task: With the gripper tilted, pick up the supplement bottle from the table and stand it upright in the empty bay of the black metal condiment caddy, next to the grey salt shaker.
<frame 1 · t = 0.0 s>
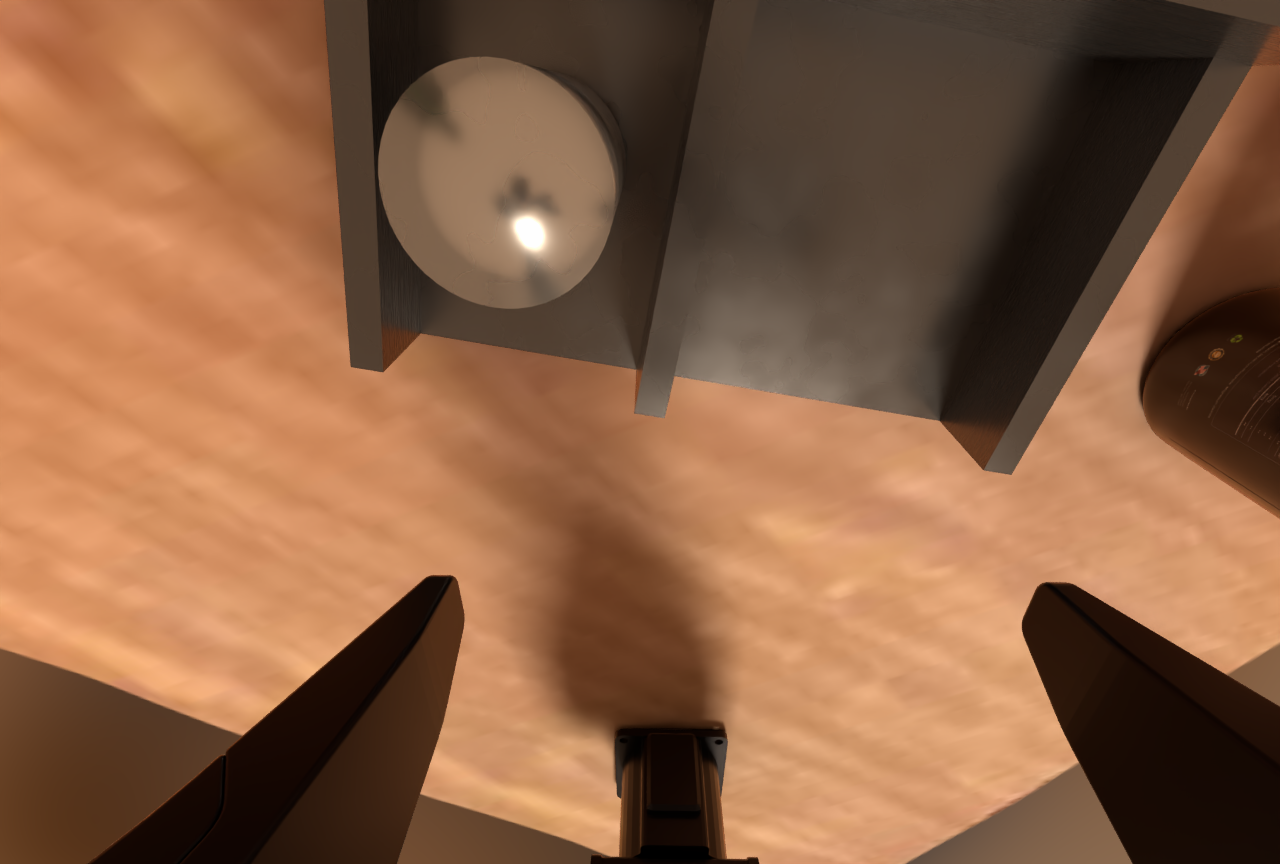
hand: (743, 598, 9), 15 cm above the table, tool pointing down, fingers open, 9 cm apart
supplement bottle: (1224, 365, 23), on the table
condiment caddy: (855, 218, 20), on the table
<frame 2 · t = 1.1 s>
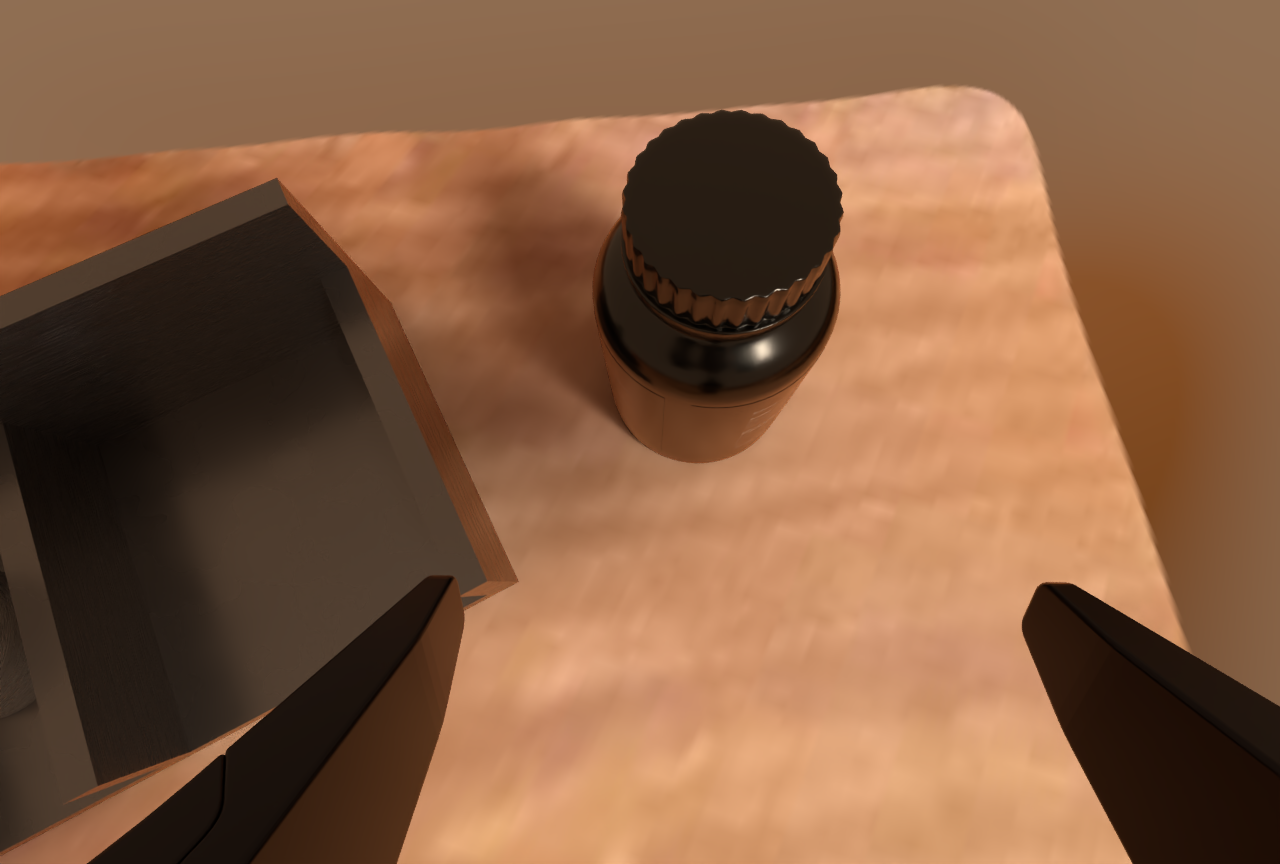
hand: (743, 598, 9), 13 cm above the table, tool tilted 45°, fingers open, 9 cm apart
supplement bottle: (693, 386, 24), on the table
condiment caddy: (297, 509, 23), on the table
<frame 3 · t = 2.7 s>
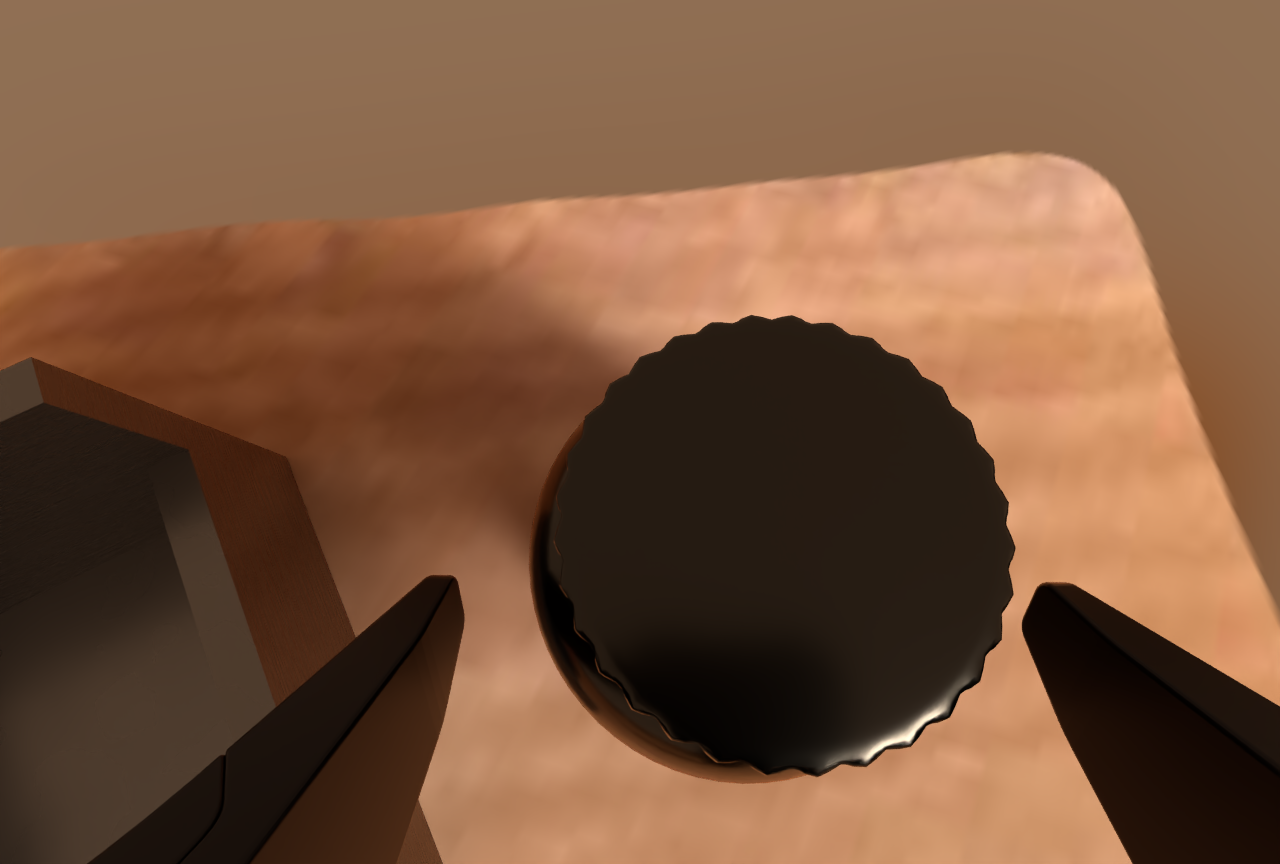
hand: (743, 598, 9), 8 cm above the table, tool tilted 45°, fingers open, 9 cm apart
supplement bottle: (696, 572, 18), on the table
condiment caddy: (138, 768, 16), on the table
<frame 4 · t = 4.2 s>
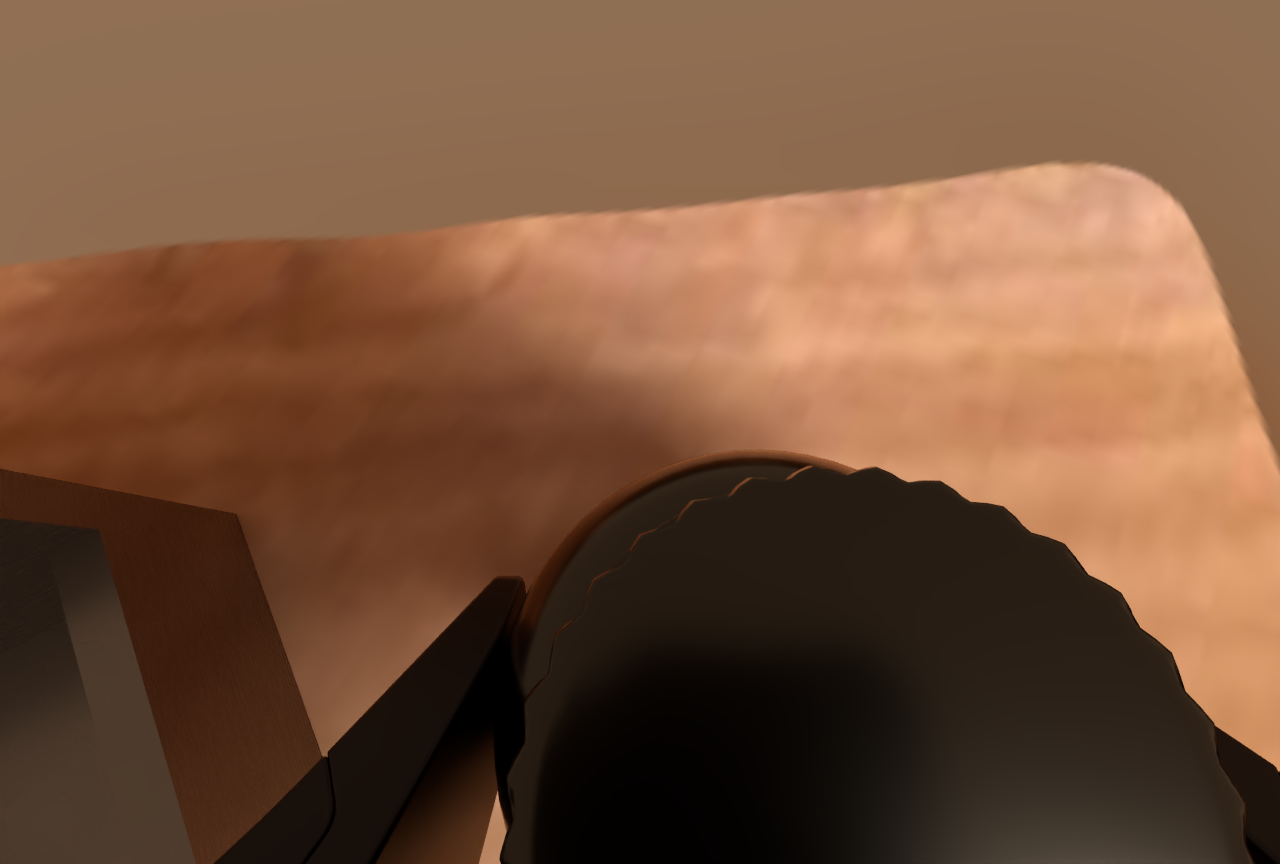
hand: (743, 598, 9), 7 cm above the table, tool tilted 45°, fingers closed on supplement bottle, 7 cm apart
supplement bottle: (705, 651, 15), on the table, touching gripper
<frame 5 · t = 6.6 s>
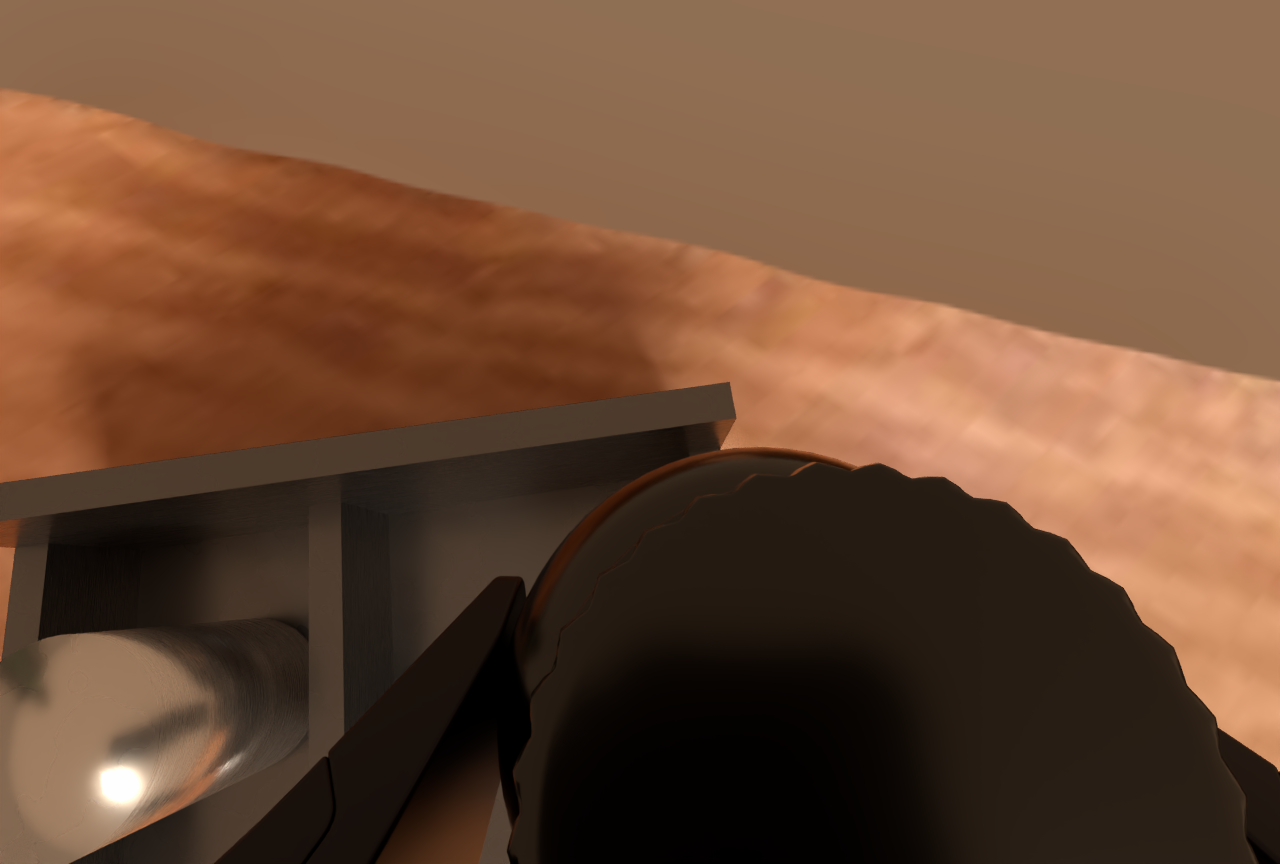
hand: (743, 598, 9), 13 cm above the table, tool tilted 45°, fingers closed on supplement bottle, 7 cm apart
supplement bottle: (706, 649, 15), point 6 cm above the table, touching gripper
condiment caddy: (555, 646, 22), on the table
when the fingers open (9 cm above the table, at t = 9.0 s): supplement bottle drops 1 cm, resting on condiment caddy.
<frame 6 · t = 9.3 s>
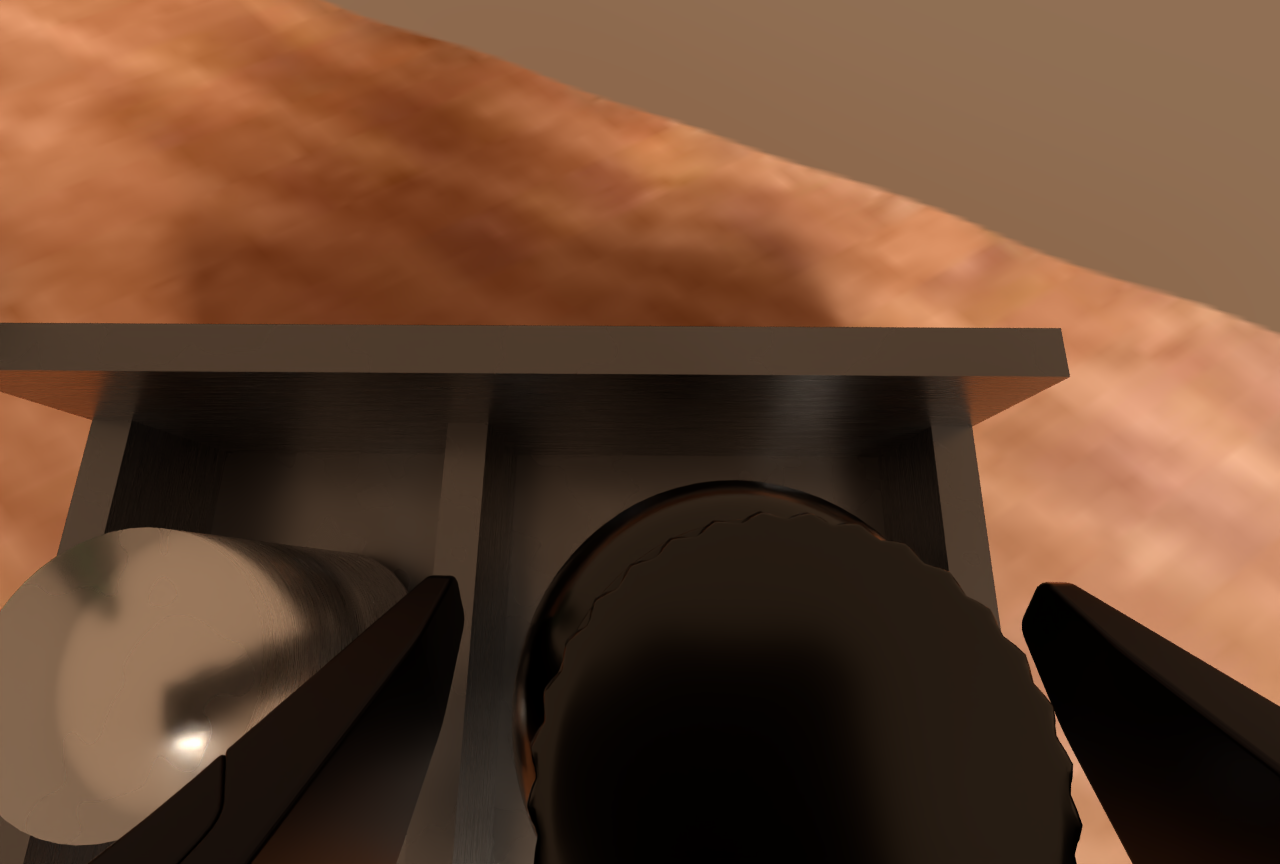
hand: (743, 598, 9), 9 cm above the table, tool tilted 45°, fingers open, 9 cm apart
supplement bottle: (698, 652, 17), point 1 cm above the table, touching condiment caddy
condiment caddy: (696, 643, 18), on the table
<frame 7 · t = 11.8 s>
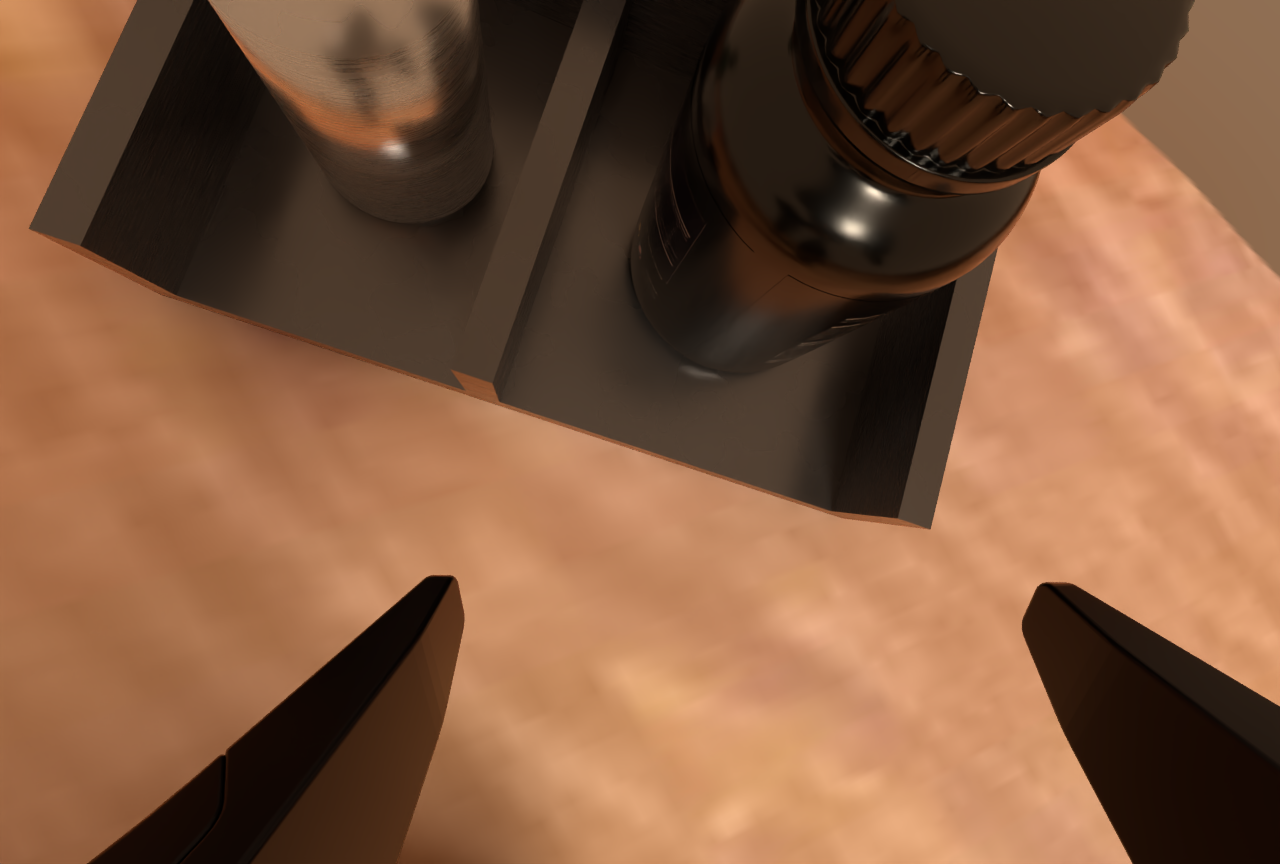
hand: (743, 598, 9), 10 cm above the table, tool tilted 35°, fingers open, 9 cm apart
supplement bottle: (726, 273, 19), point 1 cm above the table, touching condiment caddy
condiment caddy: (721, 277, 20), on the table
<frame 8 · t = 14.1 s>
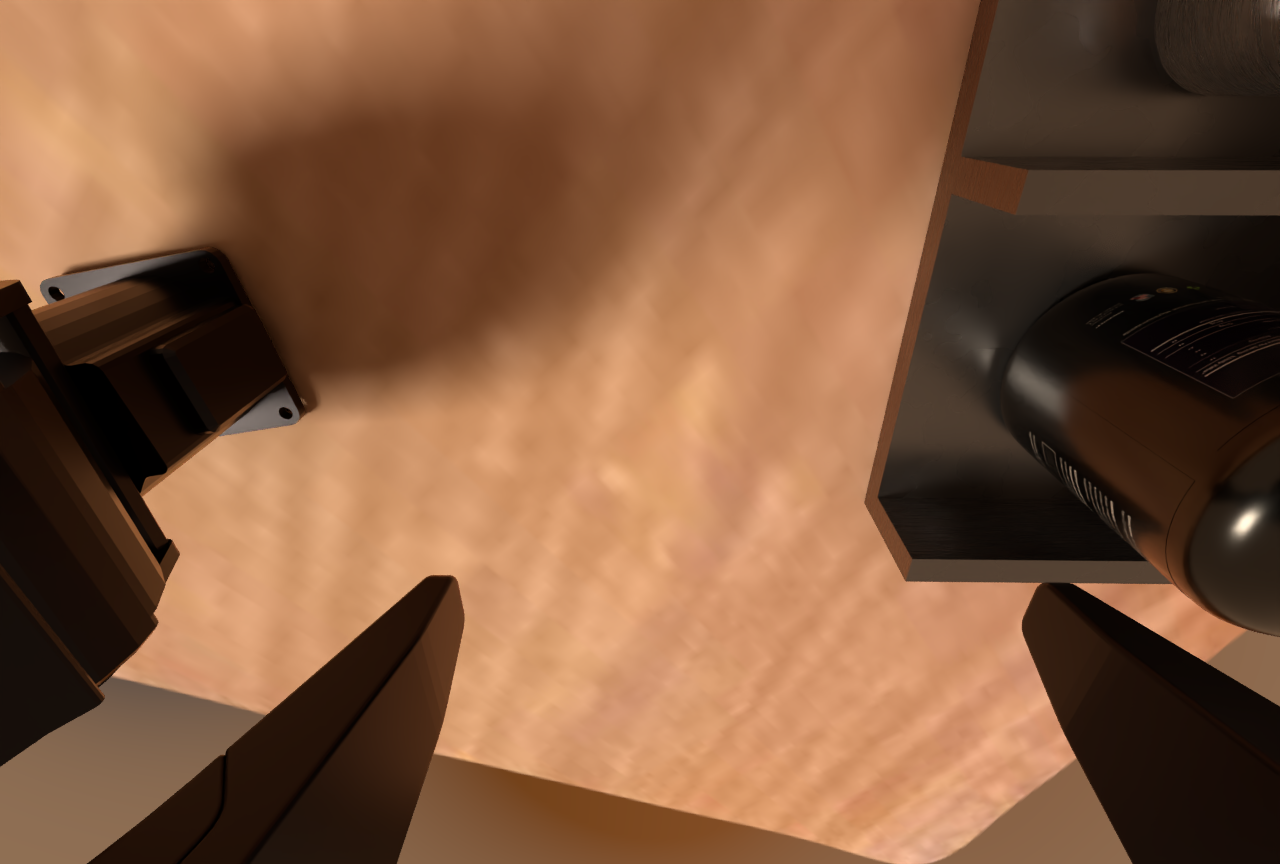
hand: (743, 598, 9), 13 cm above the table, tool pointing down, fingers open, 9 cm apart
supplement bottle: (1093, 364, 20), point 1 cm above the table, touching condiment caddy
condiment caddy: (1083, 355, 21), on the table
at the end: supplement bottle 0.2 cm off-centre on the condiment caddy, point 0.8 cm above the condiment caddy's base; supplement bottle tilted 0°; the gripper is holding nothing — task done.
